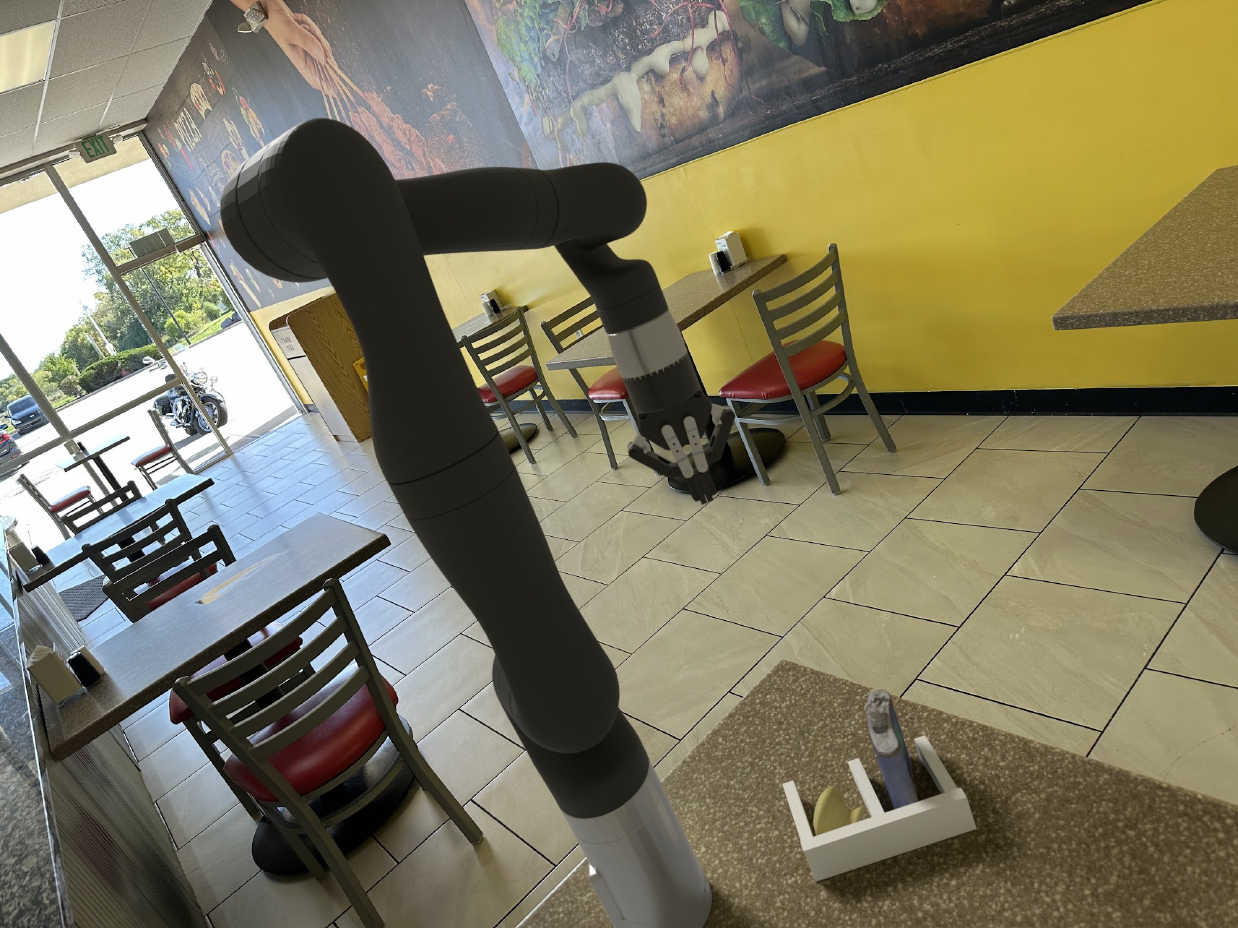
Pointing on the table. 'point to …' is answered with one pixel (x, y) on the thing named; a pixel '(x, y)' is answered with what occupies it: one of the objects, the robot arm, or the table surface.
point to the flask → (890, 748)
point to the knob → (834, 812)
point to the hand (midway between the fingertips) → (707, 500)
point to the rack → (884, 822)
